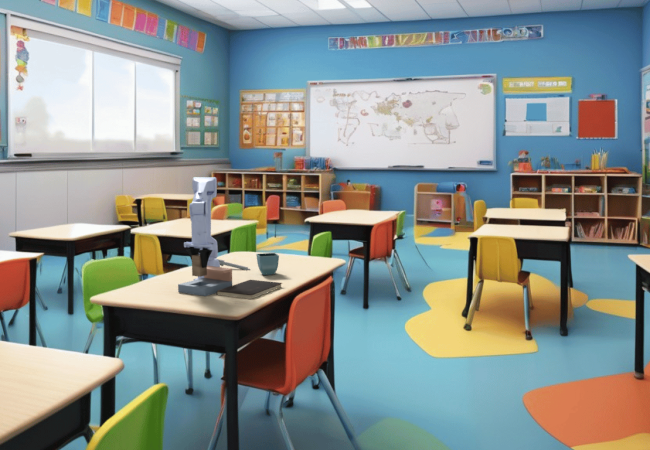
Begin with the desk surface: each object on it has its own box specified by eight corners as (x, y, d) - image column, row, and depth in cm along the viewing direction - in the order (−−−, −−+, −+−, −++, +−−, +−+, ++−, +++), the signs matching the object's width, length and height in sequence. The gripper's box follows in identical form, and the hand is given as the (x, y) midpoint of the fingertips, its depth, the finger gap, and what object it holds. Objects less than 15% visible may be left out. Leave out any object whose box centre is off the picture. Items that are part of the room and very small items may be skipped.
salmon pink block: (205, 277, 249) (205, 265, 248) (232, 280, 242) (232, 268, 241) (196, 279, 244) (196, 267, 244) (223, 283, 237) (223, 270, 237)
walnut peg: (199, 273, 238) (198, 254, 237) (207, 274, 236) (206, 254, 235) (192, 275, 235) (191, 255, 234) (199, 276, 233) (199, 256, 232)
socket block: (206, 284, 249) (205, 277, 249) (232, 288, 242) (232, 280, 242) (178, 291, 236) (178, 284, 235) (205, 296, 229) (205, 288, 228)
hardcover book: (282, 288, 245) (282, 282, 244) (251, 300, 224) (251, 294, 224) (248, 284, 251) (248, 279, 251) (216, 296, 231) (216, 290, 231)
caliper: (209, 268, 286) (209, 255, 285) (210, 268, 287) (210, 255, 286) (249, 270, 281) (249, 257, 280) (250, 270, 282) (250, 257, 281)
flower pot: (256, 272, 274) (256, 253, 273) (275, 271, 277) (275, 252, 276) (260, 276, 266) (259, 256, 265) (279, 275, 268) (279, 255, 267)
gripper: (177, 232, 234) (178, 266, 236) (206, 234, 227) (207, 270, 228) (190, 230, 240) (191, 263, 242) (218, 232, 233) (219, 267, 234)
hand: (199, 266), depth 235 cm, fingers closed on walnut peg, 4 cm apart
